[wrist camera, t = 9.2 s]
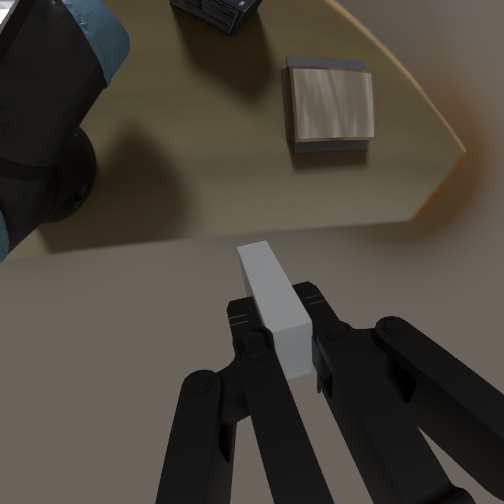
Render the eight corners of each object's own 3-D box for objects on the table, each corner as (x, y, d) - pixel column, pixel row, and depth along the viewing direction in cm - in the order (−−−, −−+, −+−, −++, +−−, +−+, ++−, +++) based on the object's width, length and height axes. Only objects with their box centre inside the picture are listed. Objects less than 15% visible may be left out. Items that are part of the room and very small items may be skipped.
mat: (293, 153, 41) (294, 153, 40) (286, 57, 34) (286, 57, 34) (367, 149, 42) (368, 149, 42) (362, 61, 36) (363, 61, 36)
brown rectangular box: (295, 142, 36) (376, 139, 37) (289, 65, 31) (373, 70, 33) (286, 139, 39) (362, 136, 41) (280, 70, 35) (358, 73, 36)
